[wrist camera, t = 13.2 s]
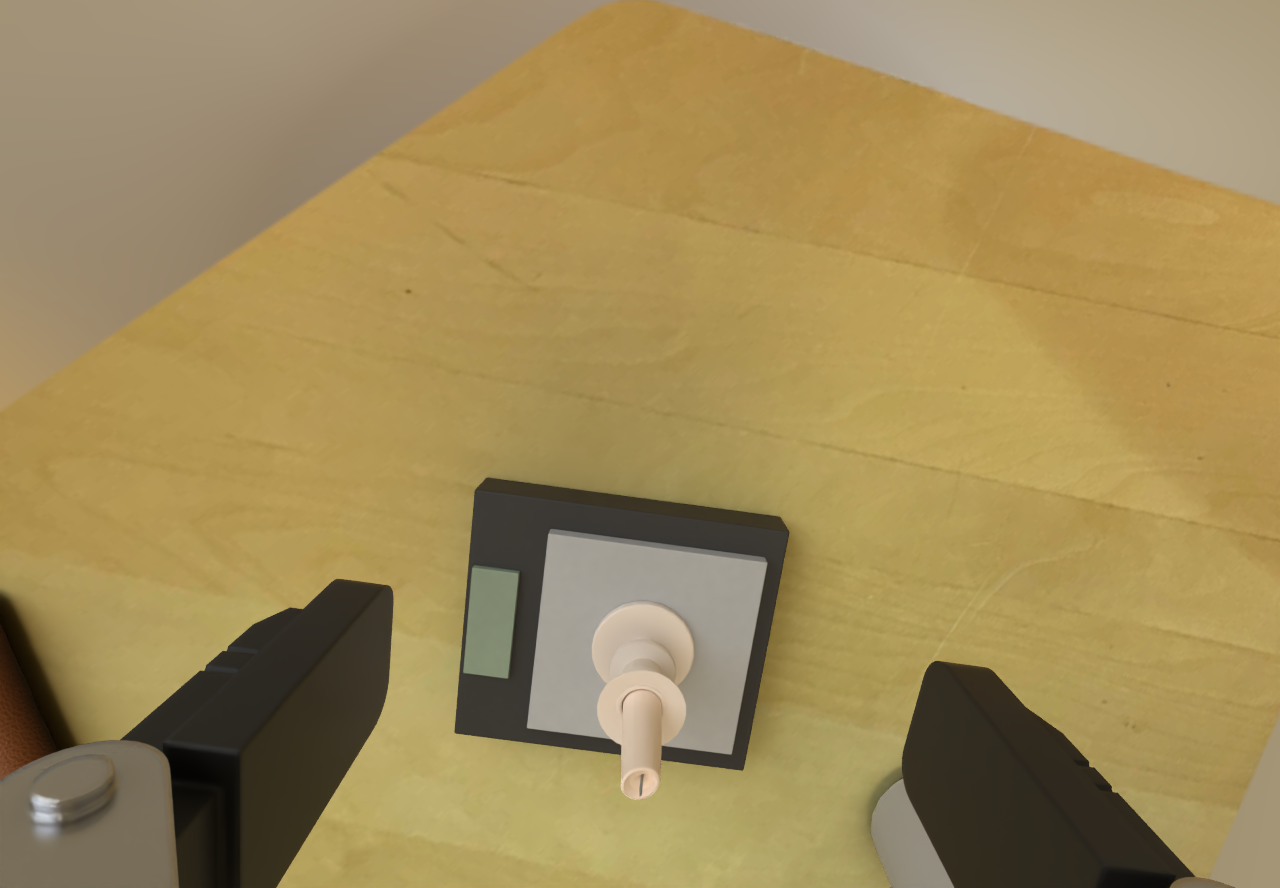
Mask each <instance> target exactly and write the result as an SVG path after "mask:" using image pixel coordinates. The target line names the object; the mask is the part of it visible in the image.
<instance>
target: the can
mask: <svg viewBox="0 0 1280 888" xmlns="http://www.w3.org/2000/svg"><path fill="white" fill-rule="evenodd" d="M871 835H872V838H873V842H874V845H875V849H876V851H877V853H878V856H879V858H880V861H881V863H882V866H883V868H884V870H885V873H886V875H887V878H888V880H889V883H890V885H891V887H892V888H954V886H953V884H952V882H951V880H950V878H949V876H948V874H947V872H946V870H945V868H944V866H943V864H942V862H941V861H940V859H939V857H938V855H937V853H936V851H935V849H934V847H933V845H932V843H931V841H930V839H929V837H928V835H927V833H926V831H925V829H924V827H923V825H922V823H921V821H920V819H919V817H918V815H917V814H916V812H915V810H914V808H913V806H912V804H911V802H910V800H909V798H908V795H907V793H906V790H905V786H904V781H903V779H901V780H899V781H897V782H896V783H894V784H893V785H892V786H891V787H890V788H889V789H888V790H887V791H886V792H885V793H884V794H883V796H882V797H881V798H880V799H879V801H878V803H877V805H876V808H875V810H874V812H873V814H872V822H871Z"/></svg>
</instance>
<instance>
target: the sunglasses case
mask: <svg viewBox="0 0 1280 888" xmlns="http://www.w3.org/2000/svg"><path fill="white" fill-rule="evenodd" d="M55 752H58V750H57V748H56V745H55V743H54V740H53V738H52V736H51V734H50V732H49V730H48V728H47V726H46V724H45V722H44V720H43V718H42V716H41V715H40V713H39V711H38V709H37V707H36V704H35V701H34V698H33V695H32V693H31V690H30V688H29V686H28V684H27V681H26V679H25V677H24V675H23V673H22V671H21V669H20V667H19V665H18V662H17V660H16V658H15V656H14V654H13V651H12V649H11V646H10V644H9V642H8V639H7V637H6V635H5V632H4V630H3V628H2V626H1V624H0V780H1V779H3V778H4V777H6V776H7V775H9V774H11V773H12V772H14V771H15V770H17V769H19V768H21V767H23V766H25V765H27V764H28V763H31V762H33V761H35V760H37V759H40V758H42V757H44V756H47V755H49V754H52V753H55Z"/></svg>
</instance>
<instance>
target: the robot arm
mask: <svg viewBox="0 0 1280 888" xmlns="http://www.w3.org/2000/svg"><path fill="white" fill-rule="evenodd" d="M392 619H393V591H392V589H391V587H390V586H388V585H381V584H374V583H366V582H359V581H352V580H344V579H336V580H334V581H333V582H331V583H330V584H329V585H328V586H327V587H326V588H325V589H324V590H323V591H322V592H321V593H320V594H319V595H318V596H317V597H316V598H314V599H313V600H312V601H311V602H310V603H309V604H308V605H307V606H306V607H305V608H304V609H297V608H288V609H286V610H284V611H282V612H279V613H277V614H275V615H273V616H271V617H269V618H266V619H264V620H262V621H260V622H258V623H255V624H254V625H252V626H251V627H250V628H249V629H248V630H247V631H245V632H244V633H243V634H242V635H241V636H240V637H239V638H237V639H236V640H235V641H234V642H233V643H232V644H230V645H229V646H228V649H227V651H222V652H221V653H220V654H219V655H218V656H217V657H215V658H214V659H213V660H212V661H211V662H210V663H209V664H207V665H206V668H205V670H204V671H199V672H198V673H197V674H196V675H195V676H194V677H192V678H191V679H190V680H189V681H188V682H187V683H185V684H184V685H183V686H182V687H181V688H180V689H179V690H177V691H176V692H175V693H174V694H173V695H172V696H170V697H169V698H168V699H167V700H166V701H165V702H164V703H162V704H161V705H160V706H159V707H158V708H157V709H155V710H154V711H153V712H152V713H151V714H150V715H149V716H147V717H146V718H145V719H144V720H143V721H142V722H140V723H139V724H138V725H137V726H136V727H135V728H134V729H132V730H131V731H130V732H129V733H128V734H127V735H125V736H124V737H123V738H122V739H121V740H110V741H101V742H93V743H88V744H83V745H78V746H74V747H71V748H67V749H64V750H60V751H58V752H55V753H52V754H49V755H47V756H44V757H42V758H40V759H37V760H35V761H33V762H31V763H28V764H27V765H25V766H23V767H21V768H19V769H17V770H15V771H14V772H12V773H11V774H9V775H7V776H6V777H4V778H3V779H1V780H0V888H276V887H277V885H278V884H279V882H280V881H281V879H282V877H283V876H284V874H285V872H286V871H287V869H288V868H289V866H290V864H291V863H292V861H293V859H294V858H295V856H296V855H297V853H298V851H299V850H300V848H301V846H302V845H303V843H304V841H305V840H306V838H307V837H308V835H309V833H310V832H311V830H312V828H313V827H314V825H315V824H316V822H317V820H318V819H319V817H320V815H321V814H322V812H323V810H324V809H325V807H326V806H327V804H328V802H329V801H330V799H331V797H332V796H333V794H334V793H335V791H336V789H337V788H338V786H339V784H340V783H341V781H342V779H343V778H344V776H345V775H346V773H347V771H348V770H349V768H350V766H351V765H352V763H353V762H354V760H355V758H356V757H357V755H358V753H359V752H360V750H361V749H362V747H363V745H364V744H365V742H366V740H367V739H368V737H369V735H370V734H371V732H372V731H373V729H374V727H375V725H376V724H377V721H378V719H379V717H380V714H381V712H382V709H383V706H384V702H385V699H386V694H387V689H388V683H389V669H390V652H391V636H392ZM902 773H903V781H904V786H905V790H906V793H907V795H908V798H909V800H910V802H911V804H912V806H913V808H914V810H915V812H916V814H917V815H918V817H919V819H920V821H921V823H922V825H923V827H924V829H925V831H926V833H927V835H928V837H929V839H930V841H931V843H932V845H933V847H934V849H935V851H936V853H937V855H938V857H939V859H940V861H941V862H942V864H943V866H944V868H945V870H946V872H947V874H948V876H949V878H950V880H951V882H952V884H953V886H954V888H1235V887H1232V886H1229V885H1226V884H1224V883H1221V882H1217V881H1214V880H1210V879H1205V878H1199V877H1195V876H1194V875H1193V874H1192V872H1191V871H1190V870H1189V869H1188V868H1187V867H1186V866H1185V865H1184V864H1183V863H1182V862H1181V861H1180V860H1179V858H1178V857H1177V856H1176V855H1175V854H1174V853H1173V852H1172V851H1171V850H1170V849H1169V848H1168V847H1167V846H1166V844H1165V843H1164V842H1163V841H1162V840H1161V839H1160V838H1159V837H1158V836H1157V835H1156V834H1155V833H1154V831H1153V830H1152V829H1151V828H1150V827H1149V826H1148V825H1147V824H1146V823H1145V822H1144V821H1143V820H1142V819H1141V817H1140V816H1139V815H1138V814H1137V813H1136V812H1135V811H1134V810H1133V809H1132V808H1131V807H1130V806H1129V805H1128V803H1127V802H1126V801H1125V800H1124V799H1123V798H1122V797H1121V796H1120V795H1119V794H1118V793H1115V792H1112V786H1111V785H1110V784H1109V783H1108V782H1107V781H1106V780H1105V779H1104V778H1103V776H1102V775H1101V774H1100V773H1099V772H1098V771H1097V770H1096V769H1095V768H1092V767H1089V761H1088V760H1087V759H1086V758H1085V757H1084V756H1083V755H1082V754H1081V753H1080V752H1079V751H1078V749H1077V748H1076V747H1075V746H1074V745H1073V744H1072V743H1071V742H1070V741H1069V740H1068V739H1067V738H1066V737H1065V735H1064V734H1063V733H1061V732H1060V731H1059V730H1057V729H1056V728H1054V727H1053V726H1052V725H1050V724H1049V723H1047V722H1046V721H1044V720H1043V719H1042V718H1040V717H1039V716H1037V715H1036V714H1035V713H1033V712H1032V711H1030V710H1029V709H1028V708H1026V707H1025V706H1024V705H1023V704H1022V703H1021V702H1020V700H1019V699H1018V698H1017V697H1016V696H1015V695H1014V694H1013V693H1012V691H1011V690H1010V689H1009V688H1008V687H1007V686H1006V685H1005V684H1004V683H1003V681H1002V680H1001V679H1000V678H999V677H998V676H997V675H996V674H995V673H994V672H993V671H992V670H991V669H989V668H985V667H979V666H971V665H964V664H956V663H949V662H942V661H935V662H933V663H931V664H930V665H929V667H928V668H927V670H926V672H925V675H924V678H923V681H922V685H921V689H920V692H919V696H918V699H917V703H916V707H915V710H914V714H913V717H912V721H911V725H910V728H909V732H908V735H907V739H906V743H905V746H904V750H903V757H902Z"/></svg>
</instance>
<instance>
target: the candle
mask: <svg viewBox="0 0 1280 888" xmlns="http://www.w3.org/2000/svg"><path fill="white" fill-rule="evenodd" d="M693 659H694V641H693V638H692V634H691V631H690V629H689V627H688V626H687V624H686V622H685V621H684V619H683V618H682V617H681V616H679V615H678V614H677V613H676V612H675V611H674V610H672V609H670V608H668V607H666V606H664V605H663V604H659V603H655V602H651V601H634V602H630V603H626V604H623V605H621V606H619V607H617V608H615V609H613V610H612V611H610V612H609V613H608V614H607V615H606V616H605V617H604V618H603V619H602V620H601V622H600V623H599V625H598V627H597V628H596V630H595V634H594V638H593V642H592V660H593V663H594V666H595V669H596V671H597V672H598V674H599V675H600V677H601V678H602V680H603V681H604V682H605V683H607V684H606V685H605V687H604V688H603V690H602V692H601V693H600V696H599V700H598V703H597V716H598V719H599V722H600V725H601V727H602V729H603V730H604V732H605V733H606V734H607V736H609V737H610V738H611V739H612V740H613V741H615V742H616V743H618V744H620V745H621V790H622V792H623V793H624V795H625V796H627V797H628V798H630V799H633V800H641V799H645V798H647V797H649V796H651V795H652V794H653V793H654V792H655V791H656V790H657V788H658V787H659V783H660V773H661V753H662V745H664V744H666V743H668V742H670V741H671V740H672V739H673V738H674V737H675V736H676V735H677V734H678V733H679V731H680V730H681V728H682V726H683V724H684V721H685V717H686V703H685V699H684V696H683V693H682V692H681V690H680V689H679V687H678V685H679V684H680V683H681V682H682V681H683V680H684V679H685V677H686V676H687V674H688V673H689V671H690V669H691V666H692V663H693Z"/></svg>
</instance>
